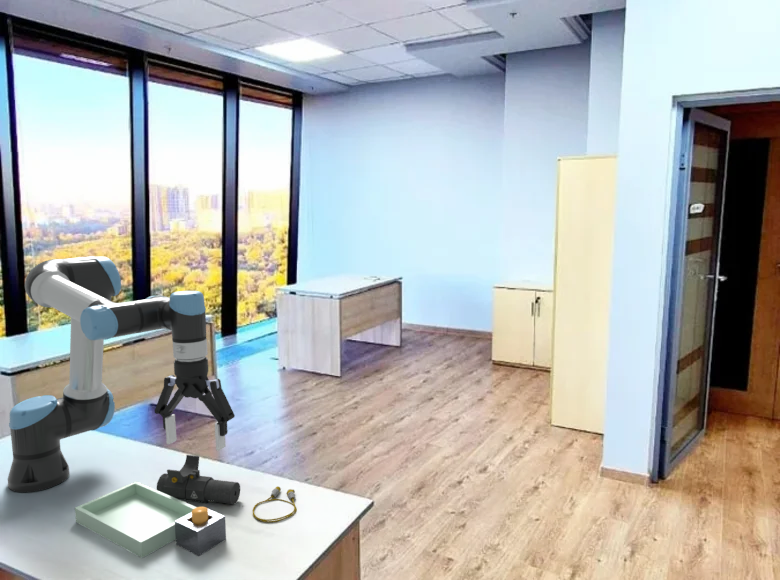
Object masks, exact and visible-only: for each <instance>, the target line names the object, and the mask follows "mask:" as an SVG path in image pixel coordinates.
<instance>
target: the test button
mask: <svg viewBox="0 0 780 580" xmlns="http://www.w3.org/2000/svg"><path fill="white" fill-rule="evenodd" d="M196 507H197V508H194V509H193V510H192V523H194V524H196V525H198V526H199V525H201V524H203V523H204V522H206V521H208V509H209V508H208V507H206V506H203V507H202V506H196Z"/></svg>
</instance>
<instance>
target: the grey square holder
mask: <svg viewBox="0 0 780 580" xmlns="http://www.w3.org/2000/svg"><path fill="white" fill-rule="evenodd" d="M201 507H204V506H201ZM226 525H227V523H226V515H224V514H221V513H219V512H217V511H214V510H212V509H210V508H208V521H206V522H204V523H203V524H201V525H199V526H198V525H196V524H194V523H192V512H191V513H189V514H187V515H185V516H183V517H181V518H180V519H178V520H176V521H175V536H176V539H175V545H176V547H177V546H178V547H180V548H181V549H183V550H185V551H188V552H189V553H191V554H194V555H196V556H197V557H199V556H201V555H203V554H204V553H207V552H208V551H209V550H211V549H214V548H215V547H217V546H218V545H219V544H222V543H223V542H224V541H226V540H227V533H226V532H227V527H226Z"/></svg>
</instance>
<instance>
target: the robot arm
mask: <svg viewBox="0 0 780 580" xmlns="http://www.w3.org/2000/svg"><path fill="white" fill-rule="evenodd" d="M24 281H25V282H24V289H25V293H26V294H27V296H28V298H29V299H30V300H31V301H32V302H34V303H35V304H37V305H39V306H41V307H43V308H53V309H55V310H57V311H58V312H60V313H62V314H64V315H66V316H68V317H70V343H69V344H70V345H69V346H70V347H69V348H70V349H69V379H68V380H69V381H68V384H66V385H65V387H64V388H63V391H62V397H60V398H57V397H55V396H54V395H51V394H50V395H48V394H47V395H46V394H45V395H41V396H40V395H38V396H33V397H30V398H27V399H24V400H22V401H21V402H18V403H17V404H15V405H14V406H13V407H12V408H11V409H10V412H9V423H8V426H9V428H10V429H9V430H10V439H11V448H12V462H11V465H10V470H9V473H8V477H7V486H8V487H7V488H8V489H9V490H11V491H13V492H17V493H32V492H39V491H44V490H47V489H51V488H53V487H56V486H58V485H59V484H61V483H63V482H65V481H66V480H67V479H69V476H70V467H69V464H68V462H67V460H66V458H65V456H64V454H63V452H62V450H61V440H63V439H66V438H69V437H73V436H77V435H80V434H83V433H87V432H90V431H96V430H98V429H100V428H103V427H106V426H107V425H109V423H111V422H112V421H113V420H112V419H113V417H114V415H115V408H116V405H115V403H116V402H115V401H114V396H113V393H112V391H111V390H110V389H109V388H108V386H106V384H105V383H103V367H104V366H103V365H104V364H103V363H104V362H103V360H104V341H106V340H110V339H113V338H119V337H124V336H129V335H134V334H139V333H140V334H141V333H146V332H147V333H148V332H150V331H151V332H153V331H156V330H170V331H171V336H172V337H171V338H172V340H171V341H172V353H173V354H172V355H173V358H174V360H173V370H174V371H173V372H174V374H171V375H169V376H166V377H164V379H163V387H162V391H161V393H160V395H159V398H158V401H157V403H156V406H155V409H154V413H155V414H156V415H160V416H161V417H162V426H163V429H164V430H165V437H166V438H165V439H166V440H165V441H166V445H172V444H173V443H175V442H176V441H177V439H178V438H177V427H176V426H177V425H176V414H175V413H174V410H175V409H176V408H177V406H178V405H179V404H180V403H181V401H182V400H183V398H193V399H198V401H200V402H202V403H203V405H205V407H206V408H207V410H208V411H209V413H210V414H211V415H212V416H213V418H214V419H215V420H216V421H217V422H214V435H215V449H216V451H217V452H219V451H222V450H223V449H224V448H225V447H226V436H227V434H228V422H229V421H231V420H232V419H234V418H235V413H234V410H233V408H232V407H231V404H230V403H229V400H228V399H227V398H228V397H227V396H226V394H225V392H224V389H223V388H222V383H221V379H220V378H216V379H210V380H209V377H208V374H209V358H208V357H207V356H208V341H207V340H208V339H207V320H206V318H207V317H206V315H207V313H206V306H205V298H204V294H203V293H202V292H201V291H198V290H180V291H174V292H172V293H171V294H170V296H167V295H166V296H165V295H150V296H148V297H146V298H145V299H138V300H131V301H121V302H114V301H112V298H113V297H115V296H118V295H119V294H120V292H121V290H122V289H121V288H122V281H121V276H120V273H119V270H118V268H117V266H116V264H115V262H113V260H111V258H109V257H107V256H93V255H90V256H82V257H81V256H80V257H72V258H71V257H69V258H53V259H48V260H45V261H42V262H40V263H38V264H37V265H35V266H34V267H33V268H32V269H31V270H30V271H29V272H28V274H27V275H26V277H25V280H24ZM175 386H176V387H177V390H176V391H175V392H174V394H173V396H172V393H173V391H174V387H175ZM171 396H172V398H171ZM170 398H171V399H170Z"/></svg>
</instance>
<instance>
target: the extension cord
mask: <svg viewBox="0 0 780 580" xmlns="http://www.w3.org/2000/svg"><path fill="white" fill-rule="evenodd" d="M281 489H282V488H281V487H280V486H276V487H275V488H274V489H273V490H272V491H271V495H270V497H268V498H267V499H265V500H262V501H258V502H257V503H255V505H254V506H253V508H252V516H253V518H255V519H256V520H258V521H260V522H263V523H276V522H280V521H283V520H286V519H288V518H291V516H293V515H295V514H296V513H297V510H298V508H297V506H296V503H295V500H296V499H295V498H296V494H295V492H296V490H295V489H291V488H290V489H288V490H287V491H286V497H287V498H288V500H290V501H291V502H290V501H288V500H284V499H281V498H276V497H277V496H279V493H280V492H281ZM270 501H280V502H284V503H287V504H290V505H292V506H293V507H294V508H293V511H292V512H290V513H289V514H287V515H283V516H281V517H276V518H268V519H266V518H260V517H258V516H257V515H256V514H255V510H256V508H257V507H258V506H260V505H261V504H262V503H266V502H267V503H268V502H270Z"/></svg>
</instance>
